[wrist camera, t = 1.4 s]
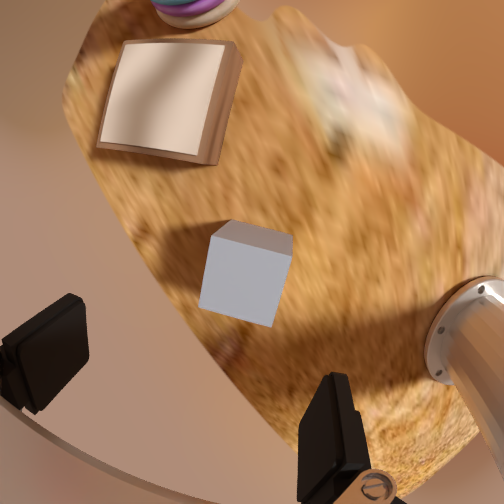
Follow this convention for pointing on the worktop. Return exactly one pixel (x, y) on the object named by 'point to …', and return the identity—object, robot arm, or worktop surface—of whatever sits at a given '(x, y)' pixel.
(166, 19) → the stacking toy
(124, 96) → the walnut tray
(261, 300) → the grey block
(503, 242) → the worktop surface
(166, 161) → the worktop surface
